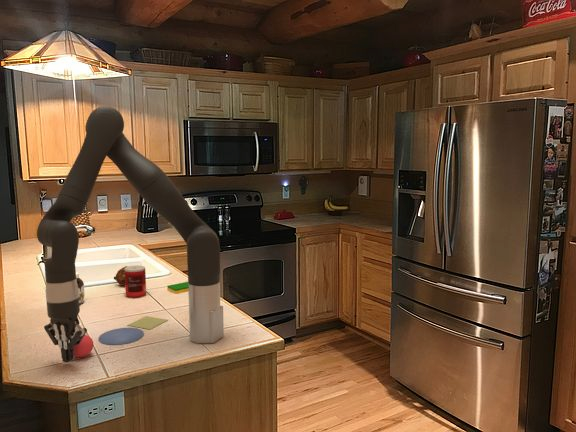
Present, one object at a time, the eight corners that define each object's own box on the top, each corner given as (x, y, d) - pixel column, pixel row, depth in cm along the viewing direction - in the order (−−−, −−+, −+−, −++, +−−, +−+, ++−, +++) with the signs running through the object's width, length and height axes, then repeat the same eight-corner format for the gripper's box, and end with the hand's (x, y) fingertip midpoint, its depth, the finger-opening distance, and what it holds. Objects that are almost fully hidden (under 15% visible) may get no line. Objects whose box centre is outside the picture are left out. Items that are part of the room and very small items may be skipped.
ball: (98, 353, 129) (97, 332, 128) (81, 362, 123) (80, 340, 122) (82, 349, 131) (81, 329, 130) (65, 358, 125) (63, 337, 125)
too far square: (167, 320, 154) (167, 319, 154) (149, 329, 146) (149, 329, 146) (146, 316, 157) (146, 316, 157) (127, 325, 149) (127, 325, 149)
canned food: (138, 291, 186) (137, 264, 185) (150, 294, 181) (149, 267, 180) (121, 295, 181) (120, 268, 179) (133, 299, 176) (131, 271, 174)
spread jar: (70, 310, 164) (68, 278, 162) (42, 308, 166) (40, 276, 165) (91, 299, 176) (89, 269, 174) (65, 297, 178) (63, 268, 176)
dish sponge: (167, 291, 188) (166, 285, 188) (197, 285, 197) (197, 279, 197) (175, 295, 183) (175, 289, 182) (206, 288, 192) (205, 283, 191)
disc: (153, 331, 144) (153, 331, 144) (123, 347, 132) (123, 347, 132) (120, 325, 149) (120, 325, 149) (88, 340, 137) (88, 340, 137)
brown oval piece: (128, 292, 190) (122, 289, 200) (144, 278, 193) (137, 275, 203) (114, 277, 187) (108, 275, 197) (130, 263, 190) (124, 261, 201)
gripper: (93, 295, 120) (98, 358, 123) (55, 290, 125) (60, 351, 128) (70, 304, 113) (75, 371, 116) (31, 298, 118) (37, 363, 121)
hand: (67, 360), depth 122 cm, fingers closed
